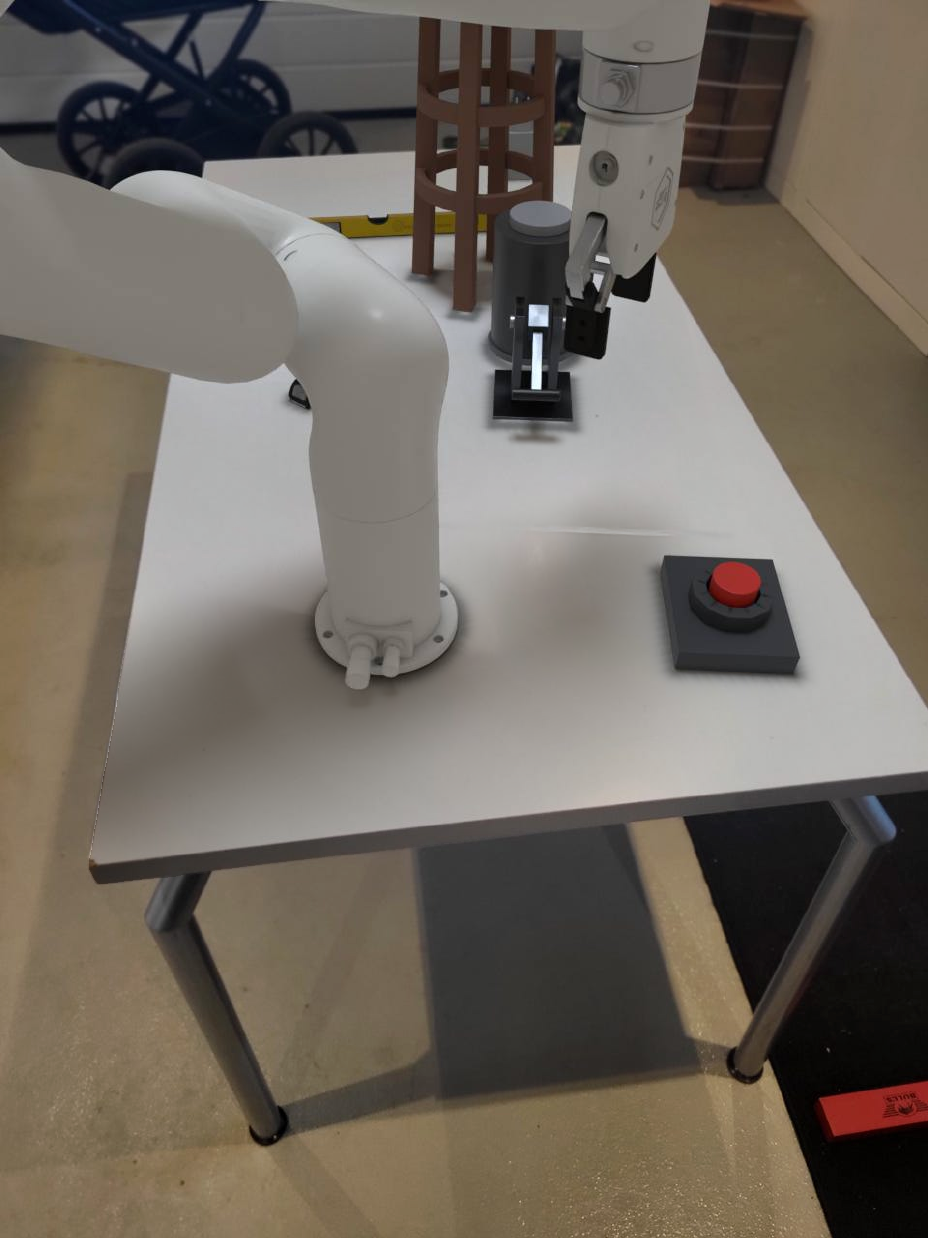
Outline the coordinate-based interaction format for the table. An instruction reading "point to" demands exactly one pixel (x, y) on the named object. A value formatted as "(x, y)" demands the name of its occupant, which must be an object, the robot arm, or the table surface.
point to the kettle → (528, 271)
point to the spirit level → (390, 224)
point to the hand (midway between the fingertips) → (607, 324)
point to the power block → (726, 620)
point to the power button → (734, 584)
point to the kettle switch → (537, 356)
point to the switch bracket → (522, 378)
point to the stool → (478, 143)
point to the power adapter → (520, 144)
